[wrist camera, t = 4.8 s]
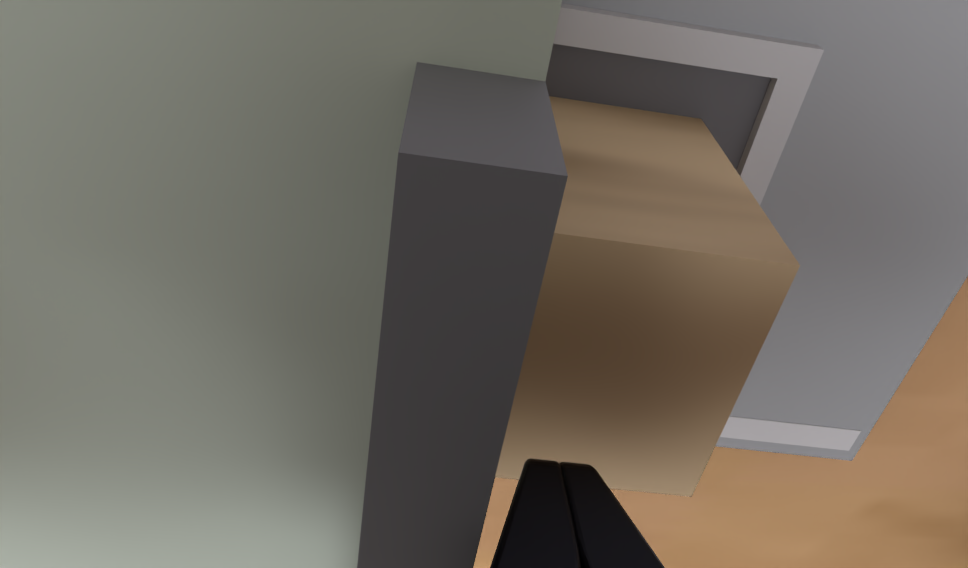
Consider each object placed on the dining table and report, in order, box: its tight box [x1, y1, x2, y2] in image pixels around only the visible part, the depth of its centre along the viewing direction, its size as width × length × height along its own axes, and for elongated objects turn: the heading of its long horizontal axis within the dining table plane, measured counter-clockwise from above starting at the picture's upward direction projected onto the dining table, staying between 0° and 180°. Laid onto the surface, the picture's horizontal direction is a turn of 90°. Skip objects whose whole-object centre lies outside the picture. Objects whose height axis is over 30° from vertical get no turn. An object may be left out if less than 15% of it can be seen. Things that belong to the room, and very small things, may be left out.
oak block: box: [495, 96, 800, 497], centre depth 13 cm, size 4×4×5 cm
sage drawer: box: [0, 0, 568, 568], centre depth 11 cm, size 11×7×8 cm, turn 171°
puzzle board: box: [545, 0, 968, 461], centre depth 15 cm, size 12×24×1 cm, turn 81°
